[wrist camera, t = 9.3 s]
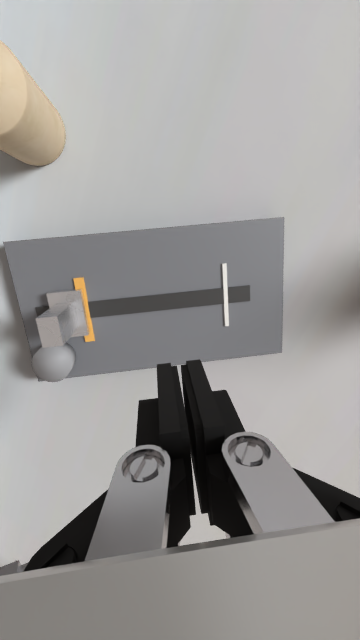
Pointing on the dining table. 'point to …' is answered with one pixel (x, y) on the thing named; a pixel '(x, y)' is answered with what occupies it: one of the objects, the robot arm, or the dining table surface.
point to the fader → (63, 318)
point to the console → (156, 295)
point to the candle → (27, 115)
